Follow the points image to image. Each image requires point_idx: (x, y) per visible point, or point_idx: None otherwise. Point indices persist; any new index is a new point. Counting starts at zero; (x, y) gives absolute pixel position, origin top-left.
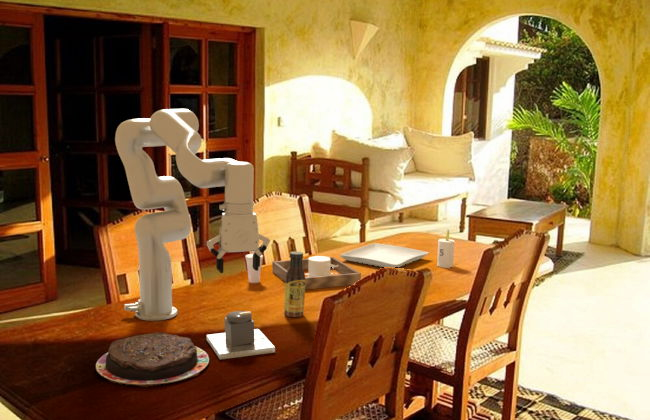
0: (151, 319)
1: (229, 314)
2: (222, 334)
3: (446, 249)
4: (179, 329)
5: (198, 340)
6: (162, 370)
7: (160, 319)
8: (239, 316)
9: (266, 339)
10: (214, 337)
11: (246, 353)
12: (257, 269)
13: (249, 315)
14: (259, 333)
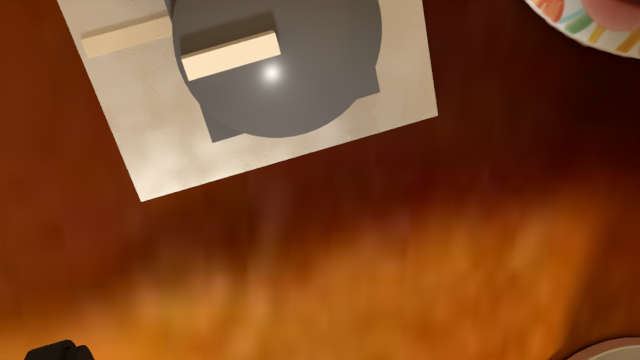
0: (635, 340)
1: (355, 66)
2: (352, 118)
3: None
4: (534, 249)
5: (466, 103)
6: None
7: (599, 345)
8: (277, 2)
9: (74, 15)
10: (398, 73)
11: None
12: (41, 354)
13: (190, 14)
14: (129, 126)
